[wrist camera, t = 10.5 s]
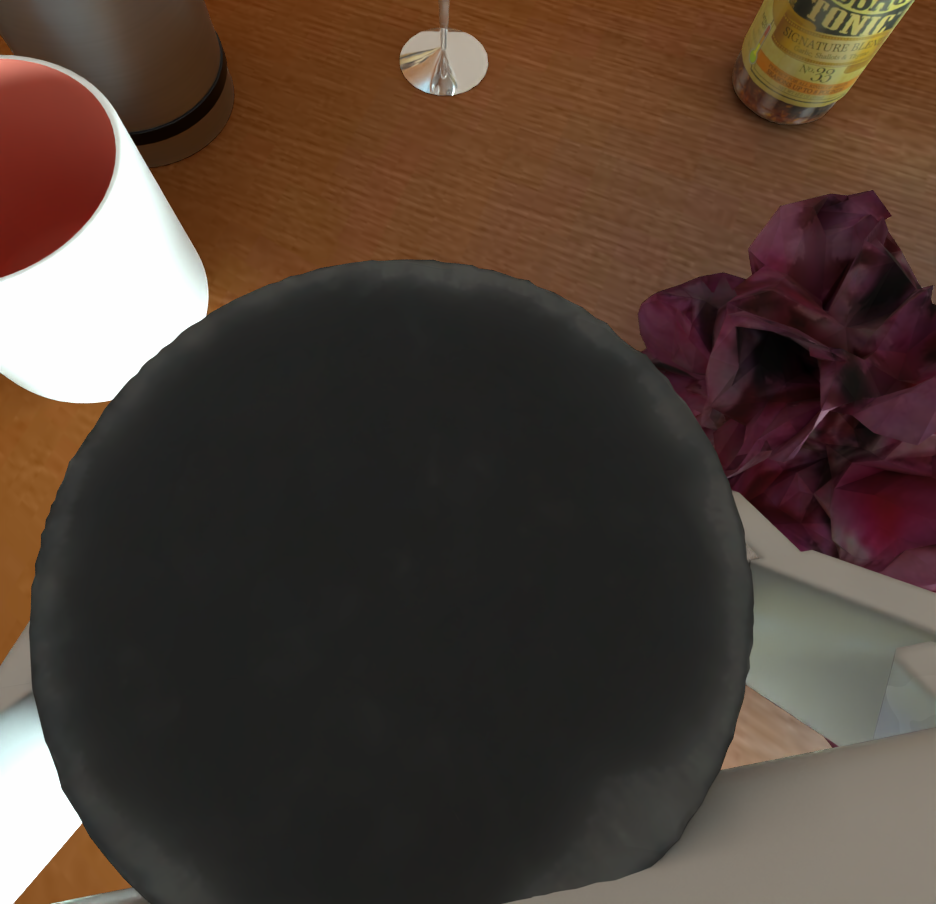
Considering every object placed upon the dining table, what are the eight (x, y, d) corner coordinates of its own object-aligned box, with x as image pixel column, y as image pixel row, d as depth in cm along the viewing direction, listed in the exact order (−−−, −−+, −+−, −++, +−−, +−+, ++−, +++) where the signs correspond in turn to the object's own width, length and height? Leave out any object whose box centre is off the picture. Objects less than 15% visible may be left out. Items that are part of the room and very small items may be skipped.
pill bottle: (566, 817, 14) (959, 1223, 3) (263, 800, 14) (-297, 1172, 3) (567, 520, 16) (818, 200, 5) (303, 504, 16) (38, 145, 5)
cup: (-44, 321, 32) (-249, 170, 23) (124, 192, 35) (4, 9, 25) (93, 456, 30) (-67, 354, 21) (260, 310, 33) (186, 160, 23)
